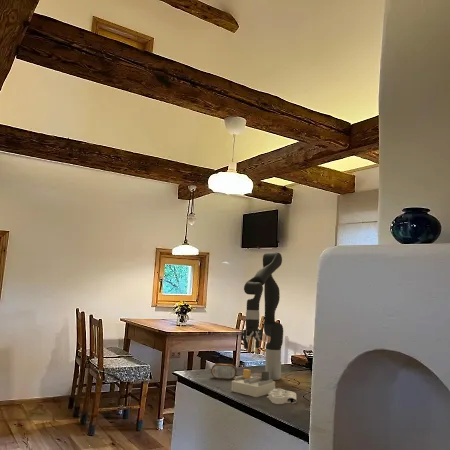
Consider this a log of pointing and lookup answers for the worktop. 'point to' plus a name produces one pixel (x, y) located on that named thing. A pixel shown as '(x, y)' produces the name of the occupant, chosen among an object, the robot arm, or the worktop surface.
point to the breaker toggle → (246, 374)
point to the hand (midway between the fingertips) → (251, 348)
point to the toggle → (265, 376)
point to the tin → (224, 371)
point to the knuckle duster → (281, 396)
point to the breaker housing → (252, 386)
